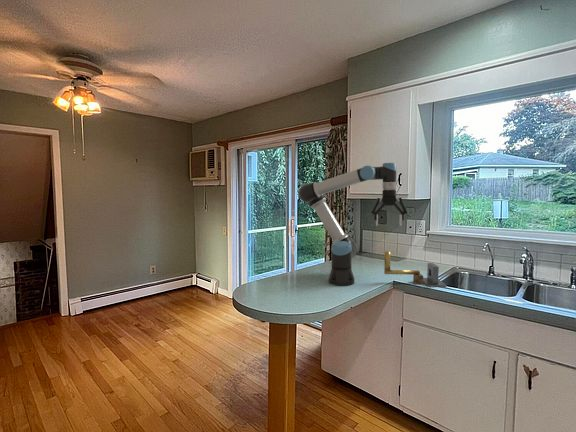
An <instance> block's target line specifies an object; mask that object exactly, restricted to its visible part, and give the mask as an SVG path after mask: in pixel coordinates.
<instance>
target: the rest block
mask: <svg viewBox="0 0 576 432" xmlns="http://www.w3.org/2000/svg"><path fill="white" fill-rule="evenodd" d="M412 275H413V274H412ZM423 278H424V275H423V274H422V273H420V274H419V275H413V279H412V280H413V281H412V282H414V284H415V285H417V284H418V285H424V283H423Z"/></svg>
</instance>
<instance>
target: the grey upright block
mask: <svg viewBox="0 0 576 432" xmlns="http://www.w3.org/2000/svg"><path fill="white" fill-rule="evenodd" d="M426 268H427V269H426V270H427V271H426V277H423V285H426V287H439V288H441V287H442V288H443V287H444V288H445V287H447V284H446V283H444V282H443V281H442V280H441V279H439V268H440V266H438V265H436V264H435V263H433V262H427V267H426Z"/></svg>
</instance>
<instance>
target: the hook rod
mask: <svg viewBox="0 0 576 432" xmlns="http://www.w3.org/2000/svg"><path fill="white" fill-rule="evenodd" d="M383 252H384V253H383V254H384V255H383V256H384V260H383V262H384V264H383V266H384V267H383V270H384V272H383V273H384V275H419V274H421V271H420V270H417V269H416V270H415V269H413V270H411V269H409V270H408V269H406V270H405V269H401V270H400V269H391V262H392V261H391V255H392V254H391V252H392V251H387V250H385V251H383Z"/></svg>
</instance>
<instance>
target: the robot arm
mask: <svg viewBox="0 0 576 432" xmlns="http://www.w3.org/2000/svg"><path fill="white" fill-rule="evenodd" d="M371 180H372V181H373V180H374V181H376V180H377V181H378V180H379V181H380V180H382V194H381V195H382V197H381V198H379V197H377V198H376V201H375V203H374V206H373V208H372V210H371V211H370V213H371V214H373V217H374V218H373V220H374V221H375V226H376V227H378V226H379V212H380V211H381V210H382V209H383V208H384V207H385V206H387V207H388V206H393V207H394V208H395V210H397V211H398V212H399V213H400V214H399V218H398V220H399V222H398V223H399V224H398V225H399V226H400V227H402V226H403V221H404V220H405V219H404V217H405V216H404V215H405V214H407V213H408V211H407V210H406V207H405V204H404V203H403V201H402V200H403V199H402V197H397V164H396V163H395V162H384V163H382V166H372V165H364V166H363V167H361V168H358V169H354V170H350V171H349V172H346V173H343V174H340V175H336V176H333V177H331V178H327V179H324V180H322V181H319V182H316V181H314V182H311V183H305V184H303V185H301V187H300V188H299V190H298V198H299V199H300V200H301V202H303V203H307V204H308V206H309V208H311V209H313V210H314V211H315V213H316V214H317V216H318V217H319V219H320V221H321V223H322V224H323V226H324V228H325V230H326V231H327V233H328V235H329V236H330V238H331V240H332V245H331V248H330V249H331V252H330V253H331V269H330V273H329V275H328V283H329V284H331V285H333V284H334V286H339V287H341V286H342V287H345V286H351V285H353V284H355V277H354V274H353V270H352V262H353V261H352V260H353V258H354V257H356V255H357V253H358V246H357V244H356V242H355V241H354V240H352V238H351V237H350V235H349V234H346V233H345V232H344V230H343V229H342V227H341V225H340V223H339V222H338V220H337V218H336V217H335V215H334V214H333V211H332V210H331V208H330V207H329V205H328V203H327V202H326V200H327V198H326V194H328V193H331V192H336V191H338V190H341V189H344V188H347V187H350V186H353V185H357V184H360V183H362V182H365V181H371ZM396 201H397V202H398V204H399V206H400V207H401V208H400V207H399V206H398V204H397V202H396ZM381 202H382V203H381ZM380 203H381V205H380V206H379V204H380ZM378 206H379V207H378Z"/></svg>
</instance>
